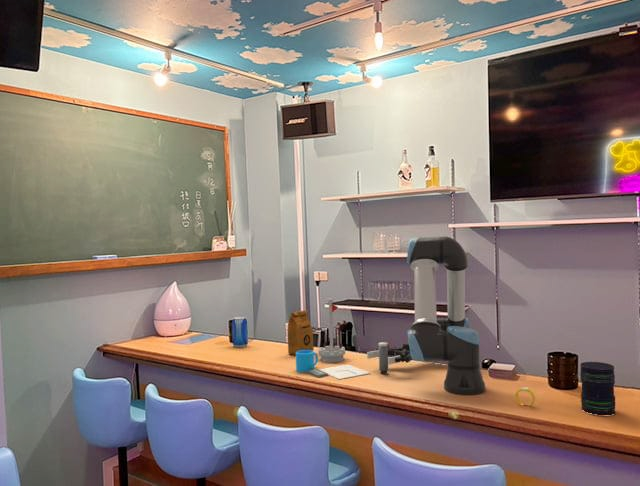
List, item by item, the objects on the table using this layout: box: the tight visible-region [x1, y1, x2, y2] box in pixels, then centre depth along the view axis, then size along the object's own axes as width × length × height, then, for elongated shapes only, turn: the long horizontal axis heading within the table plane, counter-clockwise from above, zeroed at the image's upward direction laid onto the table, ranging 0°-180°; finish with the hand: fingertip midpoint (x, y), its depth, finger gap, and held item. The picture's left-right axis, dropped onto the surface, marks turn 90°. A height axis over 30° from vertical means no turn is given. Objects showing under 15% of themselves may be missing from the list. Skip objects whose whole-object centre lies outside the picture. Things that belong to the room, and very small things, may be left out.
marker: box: [378, 341, 389, 375], centre depth 220 cm, size 4×4×13 cm
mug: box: [295, 350, 319, 373], centre depth 231 cm, size 12×8×8 cm
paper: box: [318, 364, 371, 381], centre depth 224 cm, size 18×16×1 cm
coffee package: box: [287, 309, 315, 356], centre depth 263 cm, size 10×12×22 cm
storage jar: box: [579, 361, 616, 415], centre depth 166 cm, size 10×10×15 cm
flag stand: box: [318, 297, 346, 363], centre depth 247 cm, size 13×13×30 cm
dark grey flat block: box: [306, 368, 329, 379], centre depth 222 cm, size 10×5×1 cm, turn 30°
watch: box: [515, 386, 536, 407], centre depth 174 cm, size 6×3×6 cm, turn 51°
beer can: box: [231, 316, 249, 349], centre depth 286 cm, size 8×8×16 cm
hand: (377, 358), depth 218 cm, fingers open, 13 cm apart
